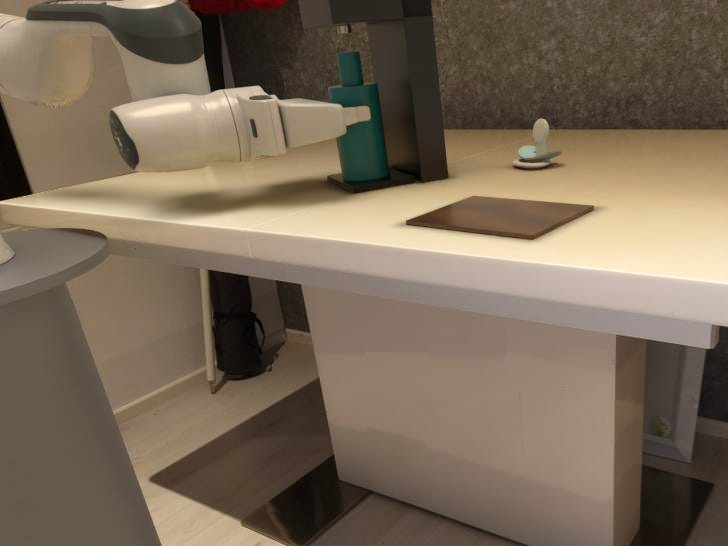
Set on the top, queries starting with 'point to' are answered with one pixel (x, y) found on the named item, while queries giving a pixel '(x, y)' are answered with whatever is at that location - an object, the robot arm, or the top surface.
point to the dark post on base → (395, 83)
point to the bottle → (359, 123)
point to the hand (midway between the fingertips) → (356, 110)
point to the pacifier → (537, 148)
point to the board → (502, 216)
